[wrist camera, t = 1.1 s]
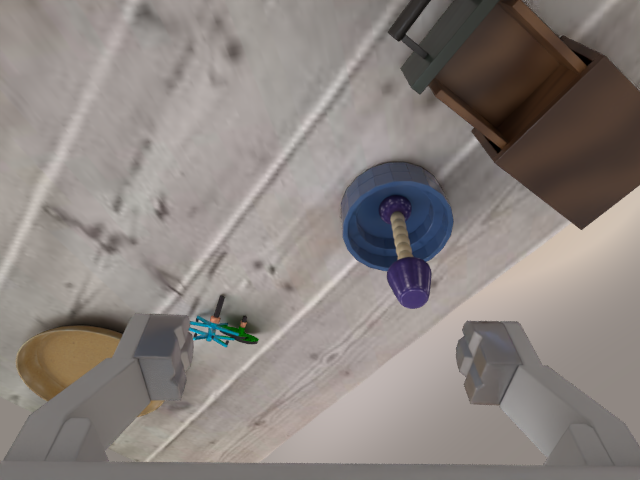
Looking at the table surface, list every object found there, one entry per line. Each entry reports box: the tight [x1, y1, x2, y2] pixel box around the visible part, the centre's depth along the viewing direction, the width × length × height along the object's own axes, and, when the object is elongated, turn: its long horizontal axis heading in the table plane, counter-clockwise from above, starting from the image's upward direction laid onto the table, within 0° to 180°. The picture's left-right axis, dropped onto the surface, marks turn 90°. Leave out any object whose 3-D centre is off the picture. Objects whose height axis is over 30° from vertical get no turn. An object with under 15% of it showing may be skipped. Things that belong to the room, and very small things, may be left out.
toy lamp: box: [379, 195, 431, 309], centre depth 50 cm, size 5×5×17 cm
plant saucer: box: [16, 326, 165, 417], centre depth 74 cm, size 24×24×3 cm
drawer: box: [388, 0, 587, 149], centre depth 42 cm, size 18×11×6 cm, turn 55°
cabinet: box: [472, 36, 640, 230], centre depth 47 cm, size 15×13×8 cm
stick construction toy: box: [189, 296, 259, 347], centre depth 67 cm, size 12×7×8 cm
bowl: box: [341, 162, 453, 271], centre depth 55 cm, size 13×13×5 cm
